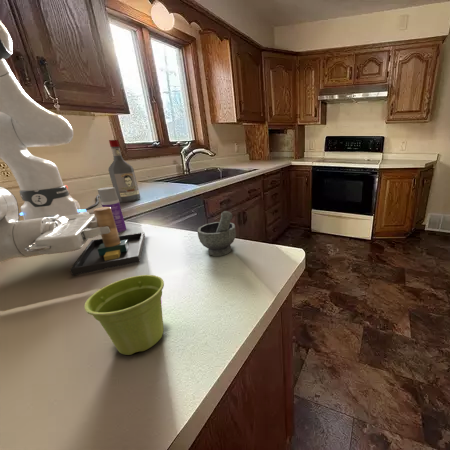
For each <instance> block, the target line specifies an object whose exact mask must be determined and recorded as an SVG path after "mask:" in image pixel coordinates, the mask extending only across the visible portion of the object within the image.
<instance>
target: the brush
mask: <svg viewBox="0 0 450 450" xmlns="http://www.w3.org/2000/svg"><path fill="white" fill-rule="evenodd" d="M92 211H93V214H94V215H95V218H96V221H97V224H98V227H101V226H107V225H108V226H110V229H111V231H110V233H108V234H102V235H100V236H101V239H102V240H103V243H104V244H101V245H100V246H99V248H98V253H99V256H103V255H105V253H106V252H110V251H115V250H120V252H125V251H127V249H128V246H129V245H128V242H127V240H122V241H120V238H119V236H120V235H119V233H118V231H117V228H116V224H115V221H114V217H113V214H112V211H111V207H102V206H100V207H97V208H93V210H92Z"/></svg>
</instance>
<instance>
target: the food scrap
mask: <svg viewBox="0 0 450 450" xmlns="http://www.w3.org/2000/svg"><path fill="white" fill-rule="evenodd" d="M120 254H121V253H120V250H115V251H110V252H106V253H105V255H104V260H105V261H106V260H111V259H116V258H119V257H120Z"/></svg>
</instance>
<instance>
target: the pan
mask: <svg viewBox="0 0 450 450" xmlns="http://www.w3.org/2000/svg"><path fill="white" fill-rule="evenodd" d="M119 238H120V241H122V240H127V242H128V245H129V246H128V249H127V251H125V252H120V253H121V254H120V257H119V258H116V259H111V260H106V261H105V260H104V255H103V256H99V253H98V248H99V246H100V245H101V244H104V243H103V240H102V238H98V239H97V238H96V239H92V240H90V242H89V243H88V244H87V245H86V247H85V248H84V250H83V251H82V253H80V255H79V257H78V258H77V259H76V260H75V262H74V263H73V265H71V267H70V268H69V270H70V273H71V276H77V275H82V274H87V273H93V272H97V271H102V270H106V269H112V268H117V267H120V266H121V267H122V266H126V265H131V264H136V263H140V262H141V259H142V254H143V248H144V244H145V239H146V234H145V232H144V231H141V232H134V233H129V234H124V235H119Z"/></svg>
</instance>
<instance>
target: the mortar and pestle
mask: <svg viewBox="0 0 450 450" xmlns="http://www.w3.org/2000/svg"><path fill="white" fill-rule="evenodd" d="M232 219H233V213H232V212H231V211H228V210H224V211H222V212H221V214H220V220H219V221H215V222H209V223H205V224H203V225H202V226H201V225H200V226H199V227H197V237H198V239H199V242H200V243H201V245H202V246H203V247H205V248H206V249H208V251H207V252H208V255H209V256H212V257H218V256H219V257H220V256H221V257H222V256H224V255H227V254H229V253H230V252H232V246H231V245H232V244H233V243H234V241H235V239H236V235H237V233H236V232H237V231H236V225H235V223H233V222H231V220H232Z"/></svg>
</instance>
